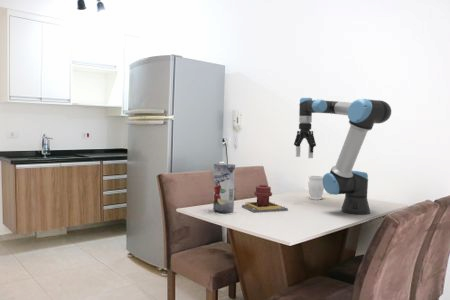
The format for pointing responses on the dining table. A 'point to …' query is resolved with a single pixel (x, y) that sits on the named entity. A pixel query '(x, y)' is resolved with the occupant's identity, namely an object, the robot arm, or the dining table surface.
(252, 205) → the deck plate
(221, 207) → the juice carton
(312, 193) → the jar
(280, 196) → the dining table surface
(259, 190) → the mechanical component
